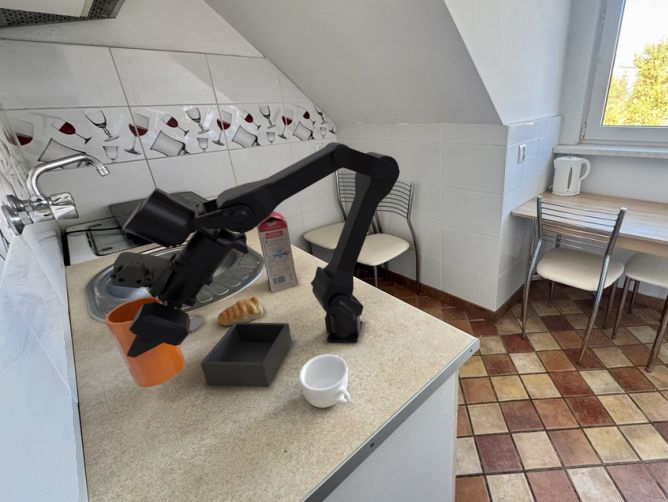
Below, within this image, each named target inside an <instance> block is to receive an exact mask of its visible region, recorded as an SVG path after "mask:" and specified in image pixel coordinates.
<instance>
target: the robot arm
mask: <svg viewBox="0 0 668 502" xmlns="http://www.w3.org/2000/svg"><path fill="white" fill-rule="evenodd" d="M341 169H346V170H348V171H352V172H354V173H355V175H354V198H353V200H352V203H351V206H350V208H349V211H348V213H347V216H346V219H345V221H344V224H343V227H342V230H341V231H340V235H339V238H338V241H337V243H336V246H335V249H334V251H333V254H332V257H331V259H330V261H329V263H328V264H327V265H326V266H325V267H322V266H317V267H316V270H315V275H314V277H313V280H311V282H310V285H311V286H312V290H311V291H312V294H313V296H314V297H315V299H316V300H317V302H318V303H319V305H320V306H321V308H322V309H323V311H324V312H325V316H324V323H325V324H324V326H325V330H326V332H325V333H326V334H327V337H326V342H327V343H344V344H345V343H346V344H347V343H348V344H349V343H350V344H352V343H353V344H357V343H358V342H359V340H360V335H361V331H362V327H363V324H364V323H363V321H362V320H361V316H362V314H363V311H364V305H363V304H362V303H361V301H360V300H359V299H358V298H357V297H356V296H355V295H354V290H355V289H354V288H355V285H354V283H355V282H354V281H355V280H354V271H355V267H356V265H357V262H358V260H359V257H360V254H361V253H362V252H361V251H362V248H363V246H364V244H365V241H366V238H367V236H368V233H369V230H370V228H371V225H372V224H373V223H372V222H373V219H374V217H375V215H376V213H377V212H376V211H377V209H378V207H379V205H380V203H382V201H383V200H384V199H386V198H387V197H388V196H389V195H390V193H392V191H393V189H394V186H395V185H396V183H397V181H398V180H399V177H400V173H401V168H400V166H399V164H398V161H397V160H396V159H395V158H394V157H393V156H390V155H386V154H382V153H378V152H375V151H368V152H363V151H360V150H357V149H354V148H351V147H350V146H348V145H347V144H345V143H340V142H337V141H332V142H328V143H327V144H326V145H325V146H323V147H322V148H321V149H319V150H317V151H314V152H313V153H311V154H309V155H308V156H305V157H304V158H302V159H300V160H298V161H296V162H295V163H292V164H290V165H288V166H286V167H285V168H282V169H281V170H279V171H276V172H275V173H274V174H272V175H270V176H268V177H266V178H262V179H260V180H255V181H250V182H246V183H243V184H239V185H236V186H233V187H230V188H227V189H225V190H223V191H222V192H220V193H219V194H218V195H217V196H216V197H215V198H212V199H210V200H206V201H202V202H199V203H196V204H193V205H192V206H190V205H188V204H186V203H184V202H183V201H181V200H179V199H177V198H175V197H173V196H171V195H170V194H169V193H168V192H166V191H165V190H164V189H161V188H159V187H155V188H154V189H153V190H152V191H151V193H150V194H149V195H148V196H147V197H146V198H145V199H144V200H143V202H142V201H141V202H140V203H138V205H137V206H136V208H135V209H134V210H133V212H132V213H131V214H130V215H129V217H128V218H127V220H126V221H125V223H124V224H123V226H122V229H121V230H123V231H125V232H128V233H130V234H133V235H135V236H137V237H140V238H142V239H144V240H146V241H148V242H152V243H154V244H156V245H158V246H161V247H163V248H165V249H169V248H174V249H175V248H177V247H178V246H182V245H183V247H181V249H180V251H179V250H177V251H176V252H173V253H172V254H171V255H170V256H169V257H162V256H159V255H155V254H147V253H141V252H140V253H139V252H133V251H122V252H120V253H119V255H118V256H117V257H116V259H115V260H114V262H113V265H112V271H111V273H110V275H109V279H110V281H109V284H111V286H115V287H119V288H128V289H129V288H130V289H140V288H145V287H149V292H148V294H149V295H150V294H151V295H150V297H157V298H156V300H158V301H161V302H163V304H160V303H158V302H151V303H147V304H143V306H142V307H141V308H140V310H139V311H138V312H137V313H136V314H135V316H134V319H133V321H132V324H131V326H130V328H129V330H130V331H131V332H132V333H133V334H136V336H135V338H134V340H133V343H132V345H131V347H130V349H129V351H128V353H127V356H129V357H133V358H135V357H137V356H139V355H141V354H143V353H145V352H147V351H149V350H151V349H153V348H155V347H157V346H159V345H161V344H163V343H166V344H170V345H173V346H178V345H179V346H181V345H182V343H183V342H184V341H185V340H186V338H187V337H188V336H189V334H190V333H189V327H190V321H191V320H190V318H189V317H190V314H189V313H188V312H185V311H183V310H182V309H183V305H185V306H186V307H190V308H193V307H194V306H195V305H196V303H197V302H198V301H197V300H198V295H199V294H200V293H201V291H202V290H203V289H204V288H205V286H208V287H209V286H210V285H211V284H212V282H213V281H214V275H215V273H216V272H218V270H219V268H220V267H221V265H222V264H223V263H224V262H225V261H226V259H227V258H228V256H229V255H230V254H231V252H233V250H235V251H238V252H240V253H242V254H243V255H248V254H249V252H250V251H249V248H248V245H247V240H248V239H247V238H248V237H247V233H248V232H251V231H252V230H254V229H255V228H257V226H258V225H259V224H260V223H261V222H262V221H264V220H265V219H266V218H267V217H268V216H269V215H270V214H271V213H272V212H273V211H275V210H276V208H278V206H280V205H281V204H282V203H283V202H284V201H286V200H288V199H289V198H291V197H293V196H295V195H297V194H299V193H300V192H302V191H304V190H306V189H307V188H309V187H311V186H313V185H314V184H316V183H317V182H319V181H322V180H323V179H325V178H327V177H328V176H330V175H332V174H334V173H335V172H337V171H339V170H341ZM194 230H195V231H194ZM193 231H194V233H193ZM192 233H193V234H192ZM191 234H192V235H191ZM190 235H191V236H190ZM188 238H189V239H188ZM185 242H186V243H185ZM184 243H185V244H184ZM188 333H189V334H188Z"/></svg>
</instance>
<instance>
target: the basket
mask: <svg viewBox="0 0 668 502" xmlns="http://www.w3.org/2000/svg"><path fill="white" fill-rule="evenodd" d="M230 326H231V327H229V328H228V330H227V331H226V332H225V333H224V335H223V336H222V337H221V338H220V339H219V341H218V342H217V343H216V344H215V345H214V346H213V348H212V349H211V350H210V351H209V353H208V354H206V357H204V359H203V360H202V361H201V362H200V367H201V370H202V372H203V376H204V379H205V382H206V384H207V386H226V387H227V386H228V387H258V388H259V387H260V388H261V387H262V388H269V387H270V386H271V384H272V382H273V380H274V379H275V376H276V375H277V372H278V371H279V369H280V367H281V365H282V363H283V361H284V359H285V358H286V356H287V354H288V352H289V350H290V348H291V346H292V345H293V339H292V333H291V328H290V323H289V322H249V321H248V322H235V323H234V324H233V325H230Z"/></svg>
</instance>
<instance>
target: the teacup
mask: <svg viewBox="0 0 668 502" xmlns="http://www.w3.org/2000/svg"><path fill="white" fill-rule="evenodd" d="M348 382H349V368H348V364H347V362H346V361H345V359H343V358H342V357H341V356H339V355H336V354H333V353H332V354H331V353H330V354H329V353H325V354H319V355H317V356H314V357H312V358H310V359H309V360H308V361H306V362H305V363H304V364H303V366H302V367H301V369H300V372H299V385H300V388H301V391H302V394H303V397H304V398H305V400H306V401H307V402H308V403H309V404H310V405H312V406H314V407H315V408H328V407H332V406H334V405H336V404H337V403H341V404H344V405H349V404H350V403H351V401H352V397H351V395H350V393H349V392H348V391H347V390H348Z"/></svg>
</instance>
